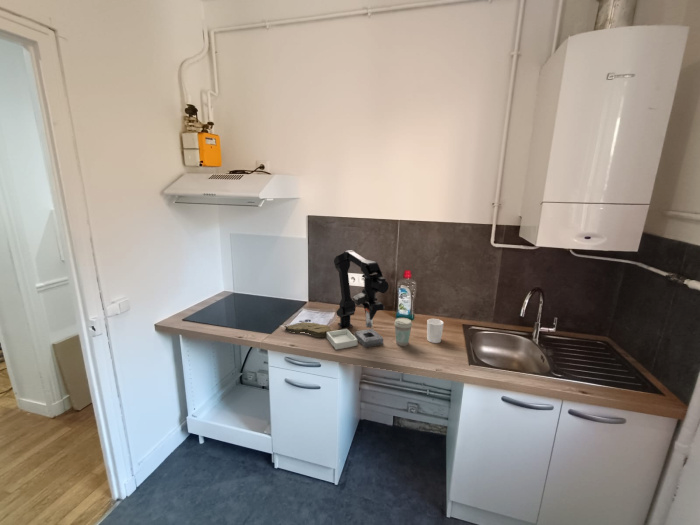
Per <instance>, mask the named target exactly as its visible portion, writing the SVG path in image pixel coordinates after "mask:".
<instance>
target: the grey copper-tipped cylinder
mask: <svg viewBox="0 0 700 525" xmlns="http://www.w3.org/2000/svg"><path fill="white" fill-rule="evenodd" d="M365 311H366V313H365V327H366V328H369V329H371V328H372V327H374V326H373V324H374V323H373V322H374V320H373V319H374V318H373V319H372V320H370V315H369V309H367V307H366V308H365V309H364V312H365Z"/></svg>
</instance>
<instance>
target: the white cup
mask: <svg viewBox="0 0 700 525" xmlns="http://www.w3.org/2000/svg"><path fill="white" fill-rule="evenodd" d="M443 331H444V321H443V320H441V319H438V318H429V319H427V320H426V340H427V341H428V342H429V343H433V344H439V343H441V341H442V336H443Z"/></svg>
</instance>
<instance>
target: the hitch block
mask: <svg viewBox="0 0 700 525" xmlns="http://www.w3.org/2000/svg"><path fill="white" fill-rule="evenodd" d="M354 336H355V337H356V339H357V342H358V343H359V344H361V345H362V346H363V347H364V348H370V347H374V346H381V345H384V337H382V335H381V334H379V333H378V332H377V331H375V330H374V329H373V328H369V329H362V330H356V331H354Z"/></svg>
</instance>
